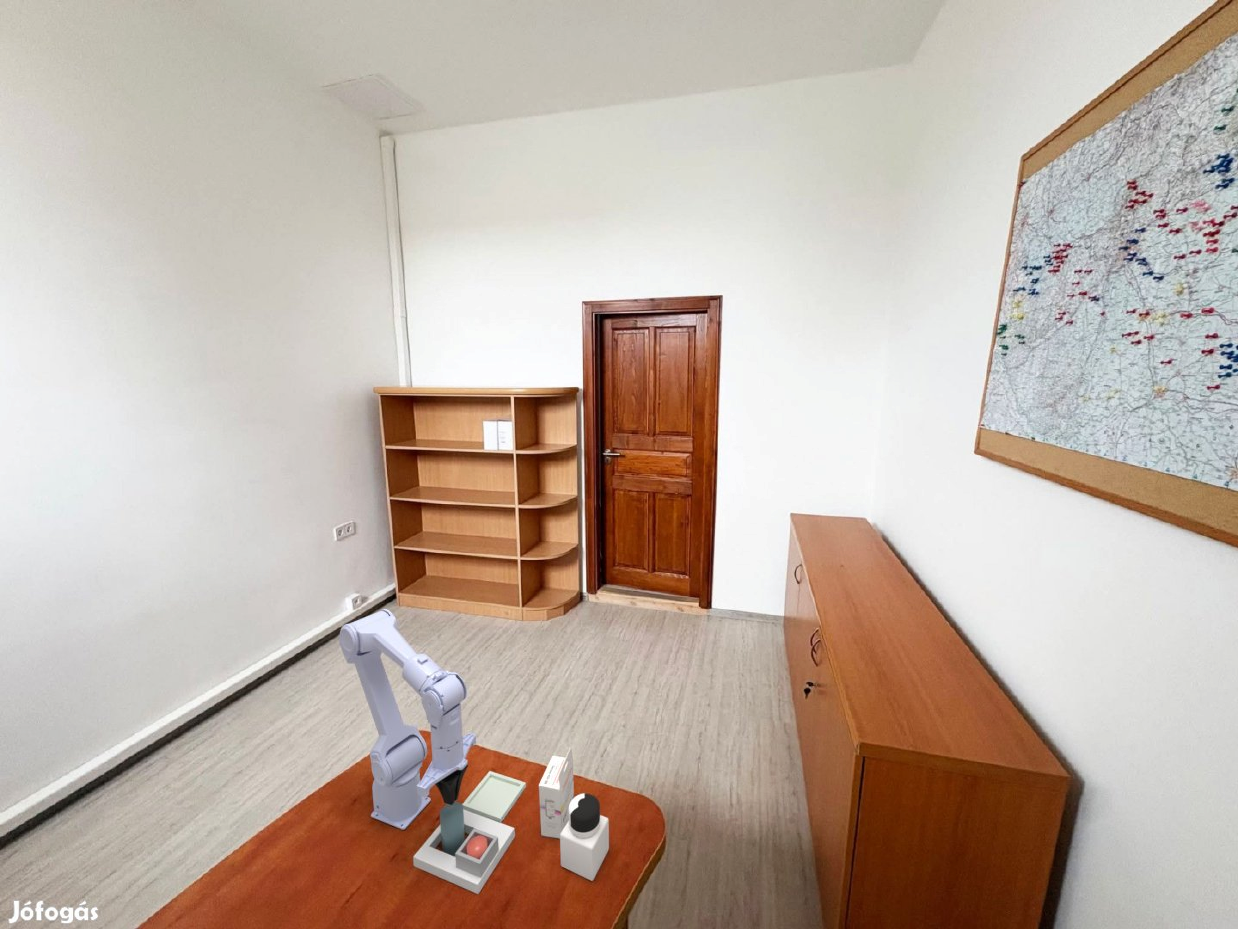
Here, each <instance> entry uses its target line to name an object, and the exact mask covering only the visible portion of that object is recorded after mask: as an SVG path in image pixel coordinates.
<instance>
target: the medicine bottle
mask: <svg viewBox="0 0 1238 929" xmlns="http://www.w3.org/2000/svg"><path fill="white" fill-rule="evenodd" d="M600 808H601V805H600V801H599V800H598V798H597V797H596V796H595V795H593V794H591V793H585V792H584V793H579V794H578V795H576V796H574V798H573V799H572V801H571V802H570V804H569V821H568V822H567V824H566V826H565V827H564V829H563V830H562V832H561V833H560V839H559V845H560V846H559V848H560V866H561V867H562V868H565V869H567V870H568V871H570V872H572V873H574V874H577V875H579V876H580V877H582V878H585V879H587V880H589V881H591V882H593V881H594V880H595V879H596V878H595V877H596V875H597V874H598V872H599V870H600V868H601V866H602V864H603V861H604V860H605V858H606V856H607V854H608V852H609V849H610V834H609V833H610V830H609V828H610V827H609V826H610V825H609V824H610V823H609V822H610V820H609V818H608V817H606V816H604V815H601V809H600Z"/></svg>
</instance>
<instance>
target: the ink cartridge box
mask: <svg viewBox="0 0 1238 929" xmlns="http://www.w3.org/2000/svg"><path fill="white" fill-rule="evenodd" d="M568 749H569V750H568V751H567V754H566V757H564V756H557V755H552V756H551V758H550V761H549V763H548V765H547V766H546V769H545V771H544V772H543V775H542V777H541V779H540V782H539V784H538V793H539V794H538V796H539V814H540V815H539V816H540V818H539V819H540V832H541V833H540V835H541V836H543V837H547V838H554V839H559V840H560V833H561V832H562V830H563V829H564V827H565V826H566V824H567V822H568V821H569V804H570V802H571V801H572V799H573V798H574V797H575V788H574V787H575V785H574V782H575V780H574V758H573V750H572V747H571V746H570V747H569V748H568Z"/></svg>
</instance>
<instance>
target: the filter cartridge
mask: <svg viewBox="0 0 1238 929" xmlns="http://www.w3.org/2000/svg"><path fill="white" fill-rule="evenodd" d="M462 804H463V803H461V802H459V801H455V802H454V803H453V805H450V804H447V803H445V805H443V807H441V809H440V812H439V820H440V824H439V825H441V851H442V852H444V853H447V854H449V855H451V856H454V857H455V853H456V852H457V851H458V849H459V848H460V847H461V845H462V844H463V843H464V841H465V840H466V835H465V834H466V833H465V830H464V813H463V805H462Z"/></svg>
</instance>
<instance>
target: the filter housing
mask: <svg viewBox="0 0 1238 929" xmlns="http://www.w3.org/2000/svg"><path fill="white" fill-rule="evenodd" d="M463 813H464V830H465V834H468V836H467V837H466V838H465V841H464V843H463V844H462V845H461V847H460V848H459V849H458V851H457V852H456V853H455V856H451V855H449V854H447V853H444V852H442V850H439V849H436V848H437V847H438V846H439V844H440V843H442V840H441V825H440V824H439V825H438V827H436V829H435V830H434V831H433V832H432V834H431V835H429V837H428V838H427V839H426V841H425V842H424V843H423V844H422V846H421V847H420V848H419V849H418V850H417V852H416V853H415V854H414V855H413V857H412V859H413V860H412V861H413V866H414V867H415V868H417V869H420V870H422V871H425V872H426V873H429V874H431V875H433V876H435V877H438V878H440V879H442V880H445V881H447V882H449V883H452V884H454V885H456V886H459V887H460V888H464V889H465V890H467V891H469V892H472V893H474V894H477V895H479V894H480V892H481V890H482V889H483V887H484V886H485V884H486V883H487V881H488V880H489V878H490V877H491V875H492V873H493V872H494V870H495V868H496V867H497V865H498V864H499V862H500V861H501V860H502V858H503V856H504V855H505V853H506V851H507V850H508V848H509V847H510V845H511V844H512V842H513V840H514V839H515V837H516V834H515V833H516V831H515V827H513V826H510V825H507V824H505V823H503V822H502V823H499V822H496V821H494V820H491V819H488V818H486V817H483V816H480V815H477V814H475V813H472V812H469V811H467V810H464V809H463ZM476 836H484V837H485V838H486V839H487V845H488V848H487V849H486V851H485V852H484V854H483V855H482V857H481V858H480V859H476V858H474V857H471V856H469V855H467V844H468V842H469V841H470V840H471V839H472V838H473V837H476Z"/></svg>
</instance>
